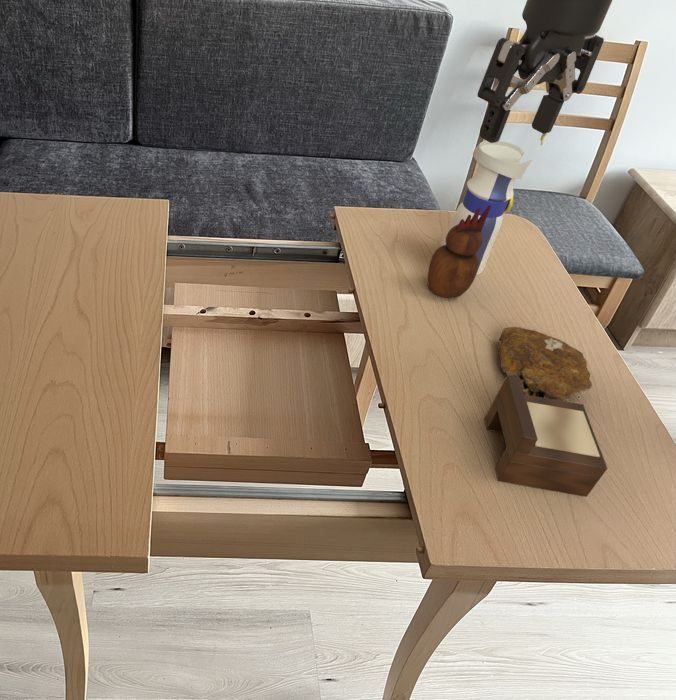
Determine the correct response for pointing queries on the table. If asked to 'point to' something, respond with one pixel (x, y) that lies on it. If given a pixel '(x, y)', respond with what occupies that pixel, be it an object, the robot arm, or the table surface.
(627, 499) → the table surface
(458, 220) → the water bottle
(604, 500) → the table surface
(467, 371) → the table surface
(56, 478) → the table surface
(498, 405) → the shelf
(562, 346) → the decorative rock
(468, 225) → the wooden figurine
